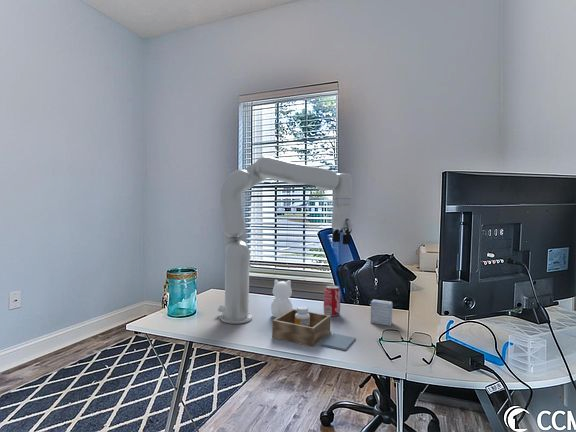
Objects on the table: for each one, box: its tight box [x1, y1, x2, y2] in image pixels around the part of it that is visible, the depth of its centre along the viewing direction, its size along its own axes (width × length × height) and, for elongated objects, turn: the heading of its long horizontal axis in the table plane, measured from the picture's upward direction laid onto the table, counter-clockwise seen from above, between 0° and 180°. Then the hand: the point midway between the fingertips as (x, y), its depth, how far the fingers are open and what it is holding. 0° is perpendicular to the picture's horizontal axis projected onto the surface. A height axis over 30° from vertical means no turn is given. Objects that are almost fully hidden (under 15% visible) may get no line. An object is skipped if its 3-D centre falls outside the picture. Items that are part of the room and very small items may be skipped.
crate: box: [271, 308, 332, 348], centre depth 121 cm, size 16×16×6 cm
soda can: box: [323, 284, 341, 317], centre depth 144 cm, size 7×7×12 cm
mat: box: [321, 333, 357, 352], centre depth 114 cm, size 8×11×1 cm
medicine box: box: [369, 298, 393, 327], centre depth 135 cm, size 8×4×9 cm, turn 65°
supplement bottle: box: [295, 305, 310, 327], centre depth 121 cm, size 5×5×10 cm
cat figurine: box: [270, 279, 293, 319], centre depth 140 cm, size 9×12×15 cm
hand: (341, 243), depth 143 cm, fingers open, 9 cm apart
